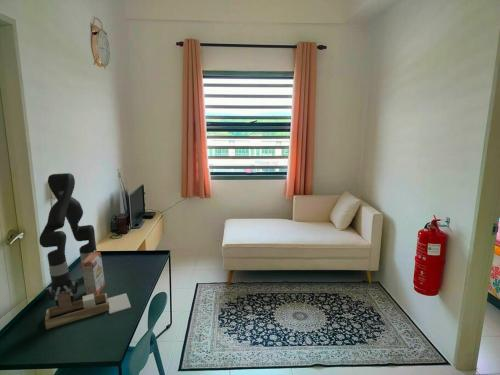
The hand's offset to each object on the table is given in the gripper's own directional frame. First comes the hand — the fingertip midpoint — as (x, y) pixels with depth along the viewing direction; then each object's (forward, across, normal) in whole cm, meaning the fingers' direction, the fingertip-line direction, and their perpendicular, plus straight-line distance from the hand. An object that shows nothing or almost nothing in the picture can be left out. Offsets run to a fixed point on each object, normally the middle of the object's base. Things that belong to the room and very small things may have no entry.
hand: (65, 303), depth 150 cm
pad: (+7, -23, +2) cm, 24 cm away
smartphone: (+8, 0, -22) cm, 23 cm away
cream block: (+7, -10, 0) cm, 12 cm away
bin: (+7, -5, 0) cm, 8 cm away
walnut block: (+1, 0, 0) cm, 1 cm away
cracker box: (+7, -14, -19) cm, 24 cm away
